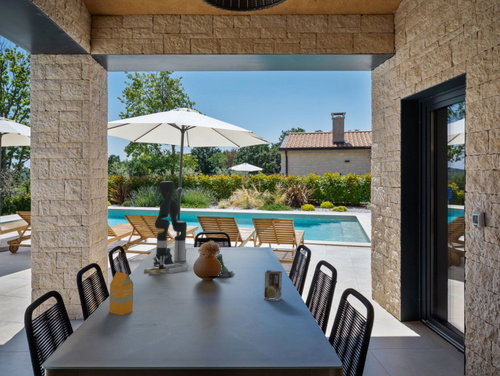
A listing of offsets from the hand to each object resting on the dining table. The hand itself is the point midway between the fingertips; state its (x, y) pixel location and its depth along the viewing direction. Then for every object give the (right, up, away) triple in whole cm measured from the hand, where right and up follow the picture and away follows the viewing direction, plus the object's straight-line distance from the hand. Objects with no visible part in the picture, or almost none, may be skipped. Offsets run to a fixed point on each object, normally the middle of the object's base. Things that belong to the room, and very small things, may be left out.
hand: (161, 269), depth 277 cm
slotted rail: (-3, -1, -3) cm, 4 cm away
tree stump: (+45, -3, -4) cm, 45 cm away
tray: (+8, -2, +7) cm, 10 cm away
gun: (-3, -1, +20) cm, 20 cm away
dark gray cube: (+6, -2, +5) cm, 8 cm away
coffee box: (+79, -5, -56) cm, 97 cm away
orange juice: (-1, -3, -85) cm, 85 cm away
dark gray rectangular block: (+3, -2, +2) cm, 4 cm away
